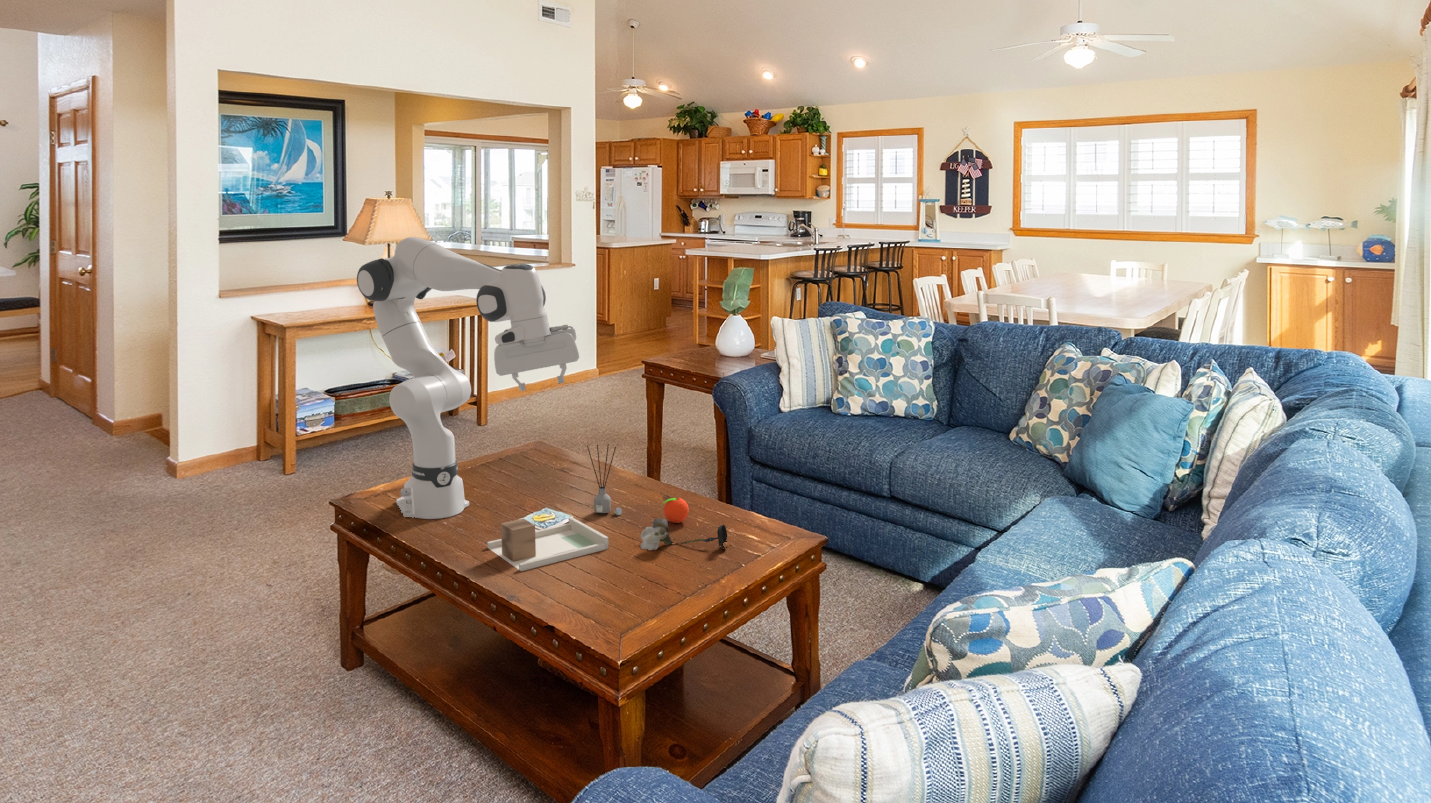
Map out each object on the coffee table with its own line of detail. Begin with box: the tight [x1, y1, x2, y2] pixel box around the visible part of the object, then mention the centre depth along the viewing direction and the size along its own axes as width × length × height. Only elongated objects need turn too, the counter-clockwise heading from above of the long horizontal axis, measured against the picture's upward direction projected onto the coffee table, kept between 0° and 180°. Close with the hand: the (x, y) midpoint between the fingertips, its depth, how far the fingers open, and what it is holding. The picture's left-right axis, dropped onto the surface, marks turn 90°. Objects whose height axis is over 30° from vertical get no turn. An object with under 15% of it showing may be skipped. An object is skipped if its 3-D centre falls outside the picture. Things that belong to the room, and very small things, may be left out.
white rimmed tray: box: [486, 516, 609, 572], centre depth 228 cm, size 18×24×4 cm
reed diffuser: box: [586, 443, 623, 516], centre depth 257 cm, size 10×7×20 cm
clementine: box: [660, 497, 690, 524], centre depth 252 cm, size 8×7×7 cm
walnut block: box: [500, 517, 536, 562], centre depth 222 cm, size 6×6×8 cm
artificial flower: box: [640, 517, 728, 551], centre depth 234 cm, size 9×22×10 cm, turn 81°
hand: (542, 386), depth 223 cm, fingers open, 8 cm apart
